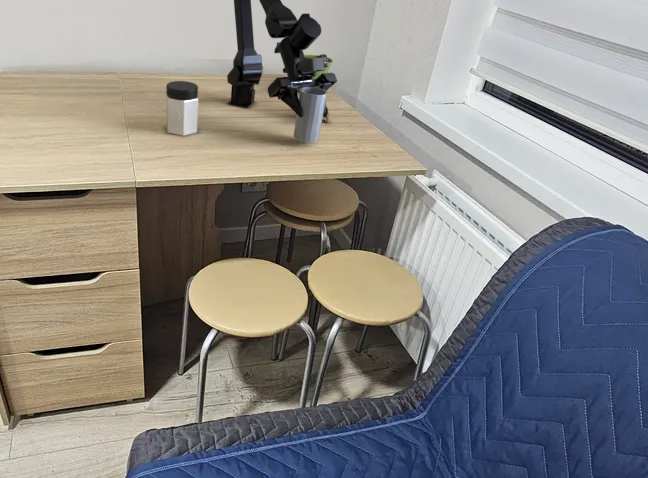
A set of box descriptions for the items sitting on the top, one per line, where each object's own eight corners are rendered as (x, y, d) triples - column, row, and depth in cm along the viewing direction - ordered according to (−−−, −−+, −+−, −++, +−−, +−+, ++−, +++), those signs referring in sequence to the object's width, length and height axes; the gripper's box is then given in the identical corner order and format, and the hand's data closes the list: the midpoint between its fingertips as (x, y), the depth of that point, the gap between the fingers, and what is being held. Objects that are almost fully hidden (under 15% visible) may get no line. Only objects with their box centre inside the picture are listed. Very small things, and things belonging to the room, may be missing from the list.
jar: (159, 131, 138) (159, 86, 131) (172, 122, 145) (172, 78, 138) (191, 138, 136) (192, 92, 130) (202, 127, 143) (204, 84, 136)
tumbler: (294, 141, 135) (301, 93, 128) (292, 131, 141) (299, 85, 134) (319, 143, 135) (328, 96, 129) (317, 133, 141) (325, 88, 134)
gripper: (279, 44, 124) (299, 104, 122) (339, 40, 132) (359, 97, 131) (258, 68, 134) (277, 124, 132) (315, 63, 142) (334, 116, 141)
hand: (312, 115), depth 134 cm, fingers closed on tumbler, 7 cm apart
